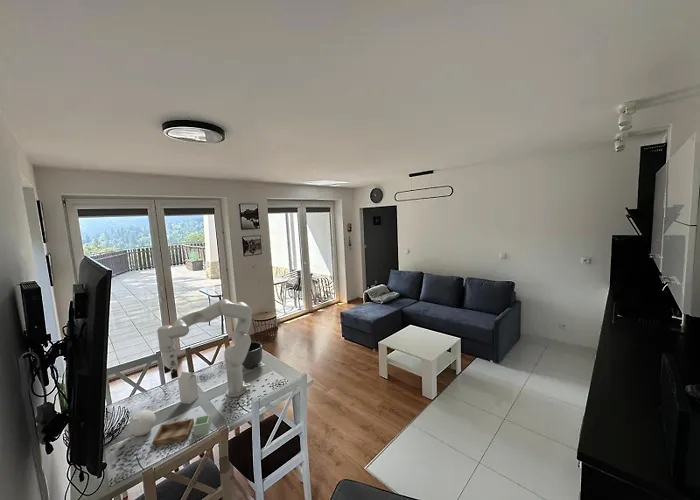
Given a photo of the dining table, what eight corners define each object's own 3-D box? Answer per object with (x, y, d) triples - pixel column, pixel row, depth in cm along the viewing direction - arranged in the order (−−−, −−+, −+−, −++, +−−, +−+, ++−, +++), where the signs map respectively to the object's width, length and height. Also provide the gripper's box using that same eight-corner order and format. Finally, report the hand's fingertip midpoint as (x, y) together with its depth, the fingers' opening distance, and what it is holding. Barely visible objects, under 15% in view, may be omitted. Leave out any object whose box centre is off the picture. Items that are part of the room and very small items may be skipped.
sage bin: (211, 424, 161) (210, 414, 161) (208, 433, 155) (207, 423, 154) (197, 427, 160) (196, 417, 159) (194, 436, 153) (193, 426, 152)
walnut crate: (194, 423, 162) (193, 418, 162) (188, 439, 151) (187, 433, 150) (162, 429, 158) (161, 424, 158) (153, 446, 147) (152, 441, 146)
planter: (268, 362, 225) (266, 343, 223) (252, 374, 210) (250, 353, 208) (251, 359, 232) (249, 340, 230) (234, 369, 217) (233, 350, 215)
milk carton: (190, 404, 179) (187, 375, 176) (180, 403, 180) (177, 375, 178) (198, 397, 186) (195, 369, 183) (189, 395, 187) (185, 368, 185)
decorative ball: (125, 438, 153) (121, 417, 152) (147, 422, 164) (144, 403, 163) (140, 443, 149) (137, 422, 147) (162, 427, 160) (159, 407, 159)
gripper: (181, 348, 162) (184, 376, 164) (168, 341, 172) (171, 367, 174) (166, 354, 156) (170, 383, 158) (154, 346, 166) (158, 373, 168)
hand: (171, 375), depth 166 cm, fingers open, 9 cm apart
